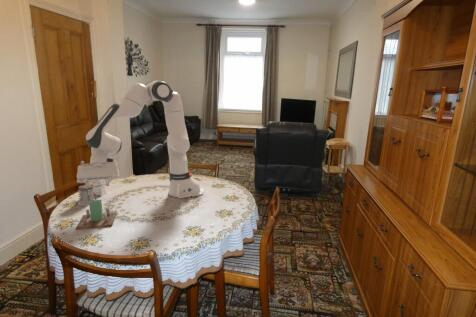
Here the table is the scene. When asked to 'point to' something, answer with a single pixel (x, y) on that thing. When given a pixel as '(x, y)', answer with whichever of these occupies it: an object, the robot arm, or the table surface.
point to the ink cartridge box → (98, 186)
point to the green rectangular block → (96, 210)
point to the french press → (85, 193)
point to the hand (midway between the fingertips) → (97, 186)
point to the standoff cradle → (105, 222)
